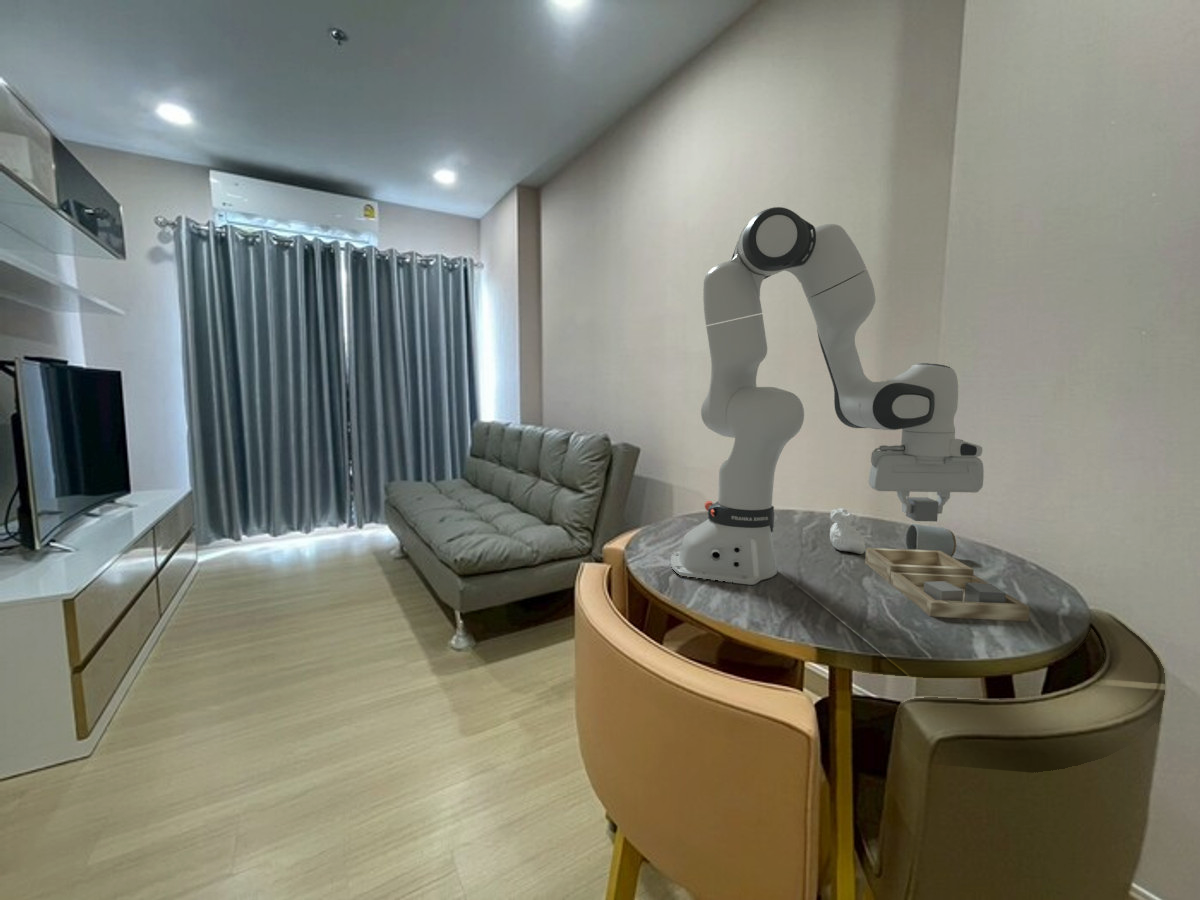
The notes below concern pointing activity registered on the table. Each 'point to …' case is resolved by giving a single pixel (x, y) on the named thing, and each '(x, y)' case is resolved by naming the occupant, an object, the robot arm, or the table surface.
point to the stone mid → (923, 509)
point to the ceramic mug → (930, 539)
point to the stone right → (983, 593)
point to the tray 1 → (913, 562)
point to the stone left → (943, 591)
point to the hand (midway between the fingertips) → (921, 512)
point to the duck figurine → (845, 532)
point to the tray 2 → (914, 591)
